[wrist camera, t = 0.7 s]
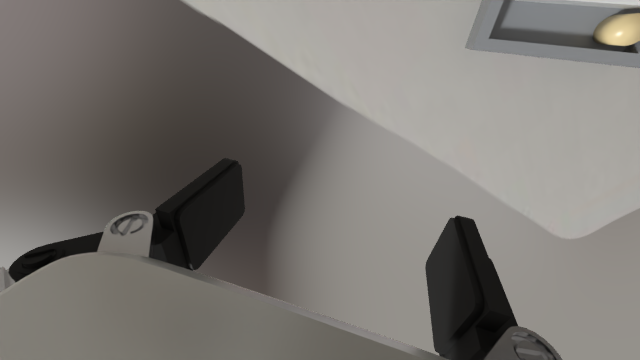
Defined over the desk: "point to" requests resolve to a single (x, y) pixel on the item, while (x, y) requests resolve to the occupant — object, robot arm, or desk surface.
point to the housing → (561, 30)
